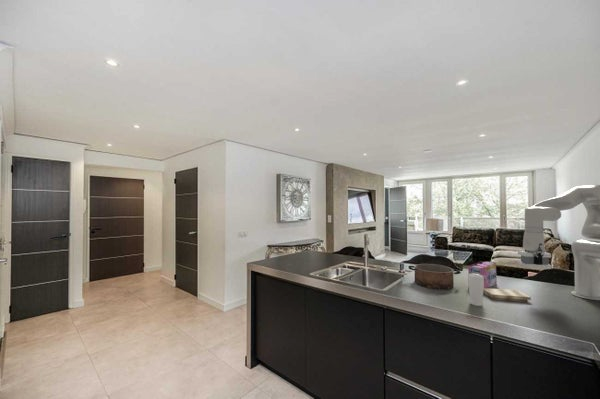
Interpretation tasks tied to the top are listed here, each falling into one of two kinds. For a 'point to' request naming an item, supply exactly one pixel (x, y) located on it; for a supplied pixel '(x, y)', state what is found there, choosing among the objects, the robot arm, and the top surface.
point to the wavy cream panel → (506, 295)
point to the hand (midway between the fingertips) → (534, 262)
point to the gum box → (484, 272)
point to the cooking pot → (434, 276)
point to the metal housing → (533, 260)
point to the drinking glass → (476, 289)
